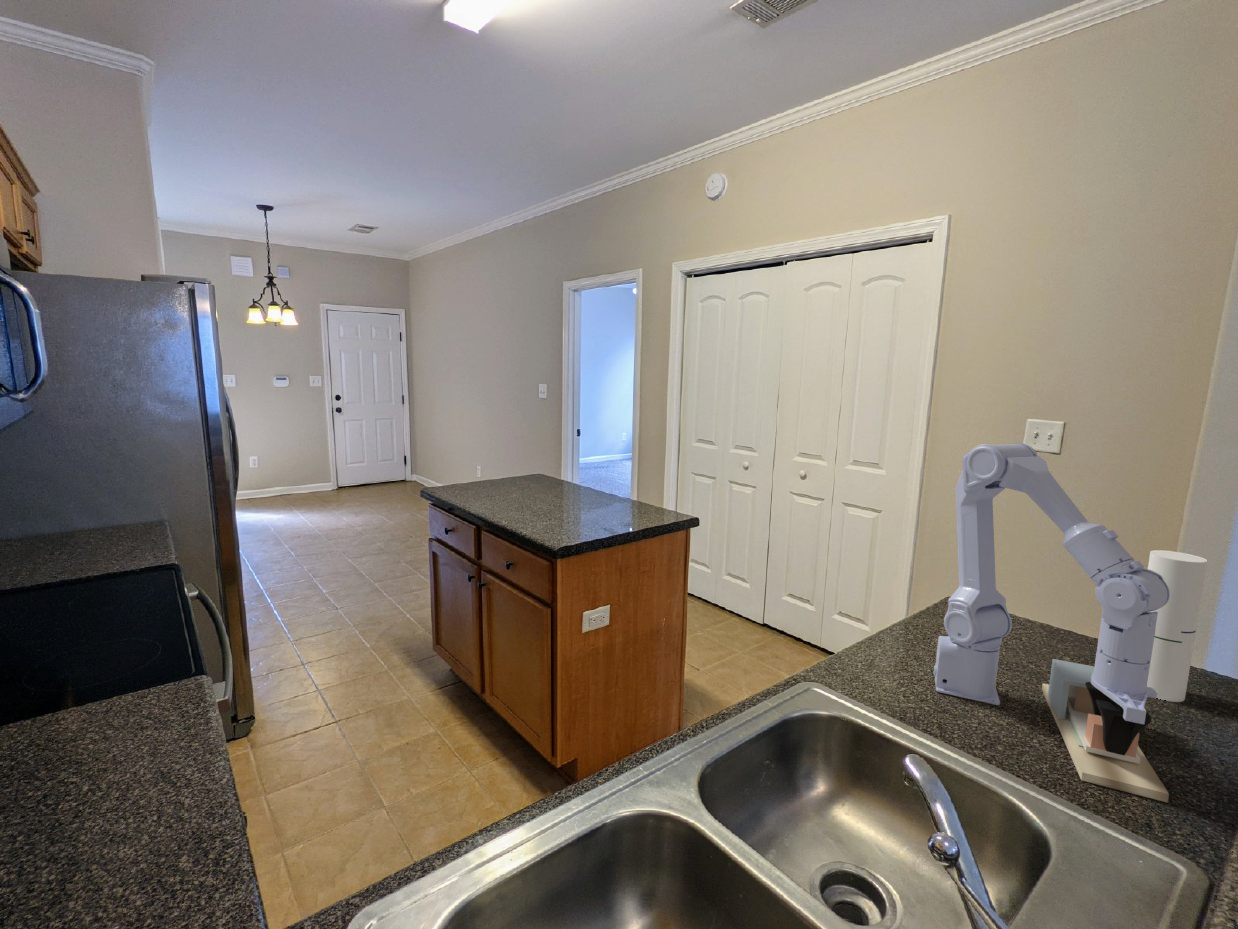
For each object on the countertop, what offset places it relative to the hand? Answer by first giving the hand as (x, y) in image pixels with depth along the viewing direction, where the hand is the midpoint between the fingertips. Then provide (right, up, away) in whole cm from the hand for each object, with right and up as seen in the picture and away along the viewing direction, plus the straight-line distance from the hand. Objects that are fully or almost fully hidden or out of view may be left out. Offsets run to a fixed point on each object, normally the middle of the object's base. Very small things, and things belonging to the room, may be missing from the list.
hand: (1110, 744), depth 83 cm
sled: (+3, 0, +6) cm, 7 cm away
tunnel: (+5, -1, +11) cm, 12 cm away
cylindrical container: (+26, -1, +20) cm, 33 cm away
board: (+3, -2, +6) cm, 7 cm away
